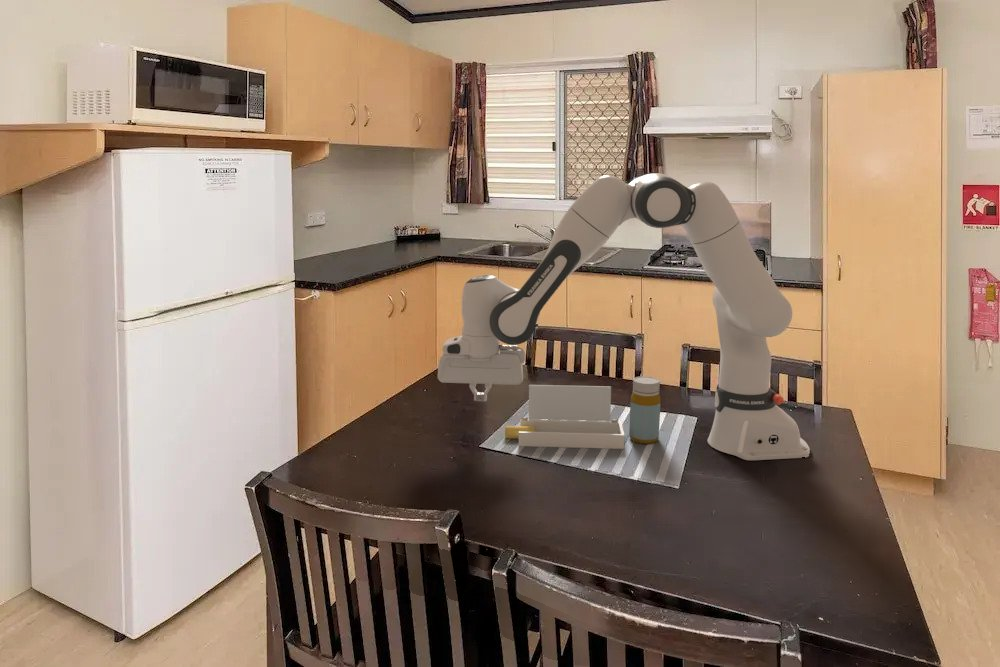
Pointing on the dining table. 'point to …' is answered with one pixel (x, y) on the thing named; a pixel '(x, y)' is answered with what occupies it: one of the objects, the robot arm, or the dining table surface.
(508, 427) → the yellow cylinder
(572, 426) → the white long shallow tray
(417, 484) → the dining table surface
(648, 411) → the bottle
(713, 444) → the robot arm
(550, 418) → the cover
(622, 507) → the dining table surface
